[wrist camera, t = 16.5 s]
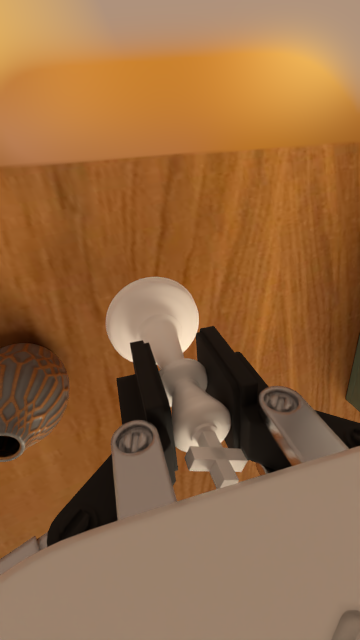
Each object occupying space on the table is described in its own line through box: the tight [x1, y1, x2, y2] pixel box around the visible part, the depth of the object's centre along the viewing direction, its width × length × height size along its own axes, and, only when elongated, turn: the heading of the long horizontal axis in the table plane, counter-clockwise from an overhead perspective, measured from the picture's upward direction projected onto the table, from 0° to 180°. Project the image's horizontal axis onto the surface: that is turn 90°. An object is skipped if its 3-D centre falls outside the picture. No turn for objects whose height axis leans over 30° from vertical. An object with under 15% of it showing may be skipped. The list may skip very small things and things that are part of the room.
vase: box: [0, 343, 69, 462], centre depth 22 cm, size 7×7×9 cm
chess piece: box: [106, 277, 247, 489], centre depth 12 cm, size 5×5×10 cm
